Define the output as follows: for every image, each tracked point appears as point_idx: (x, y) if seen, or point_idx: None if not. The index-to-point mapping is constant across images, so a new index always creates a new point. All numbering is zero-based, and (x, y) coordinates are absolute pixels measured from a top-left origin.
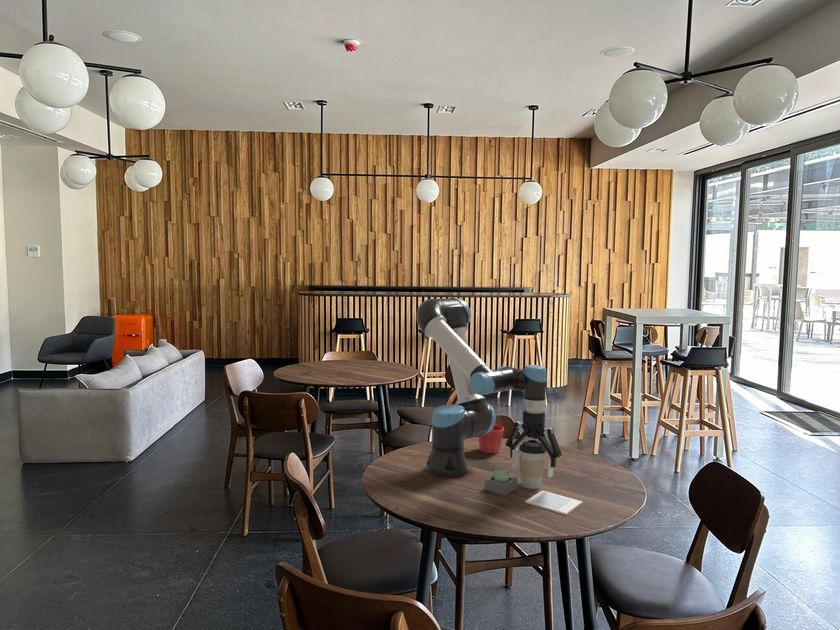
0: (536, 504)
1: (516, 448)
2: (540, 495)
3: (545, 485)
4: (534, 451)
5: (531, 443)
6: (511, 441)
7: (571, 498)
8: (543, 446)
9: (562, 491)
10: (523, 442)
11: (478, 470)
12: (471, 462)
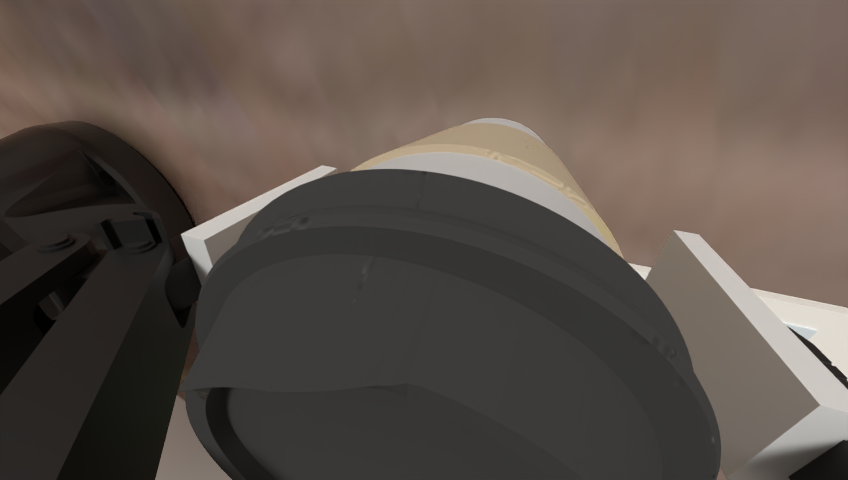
0: None
1: (194, 250)
2: None
3: (582, 132)
4: None
5: (321, 432)
6: (40, 286)
7: (819, 307)
8: (653, 477)
9: (740, 179)
10: (217, 461)
11: (172, 129)
12: (56, 23)
